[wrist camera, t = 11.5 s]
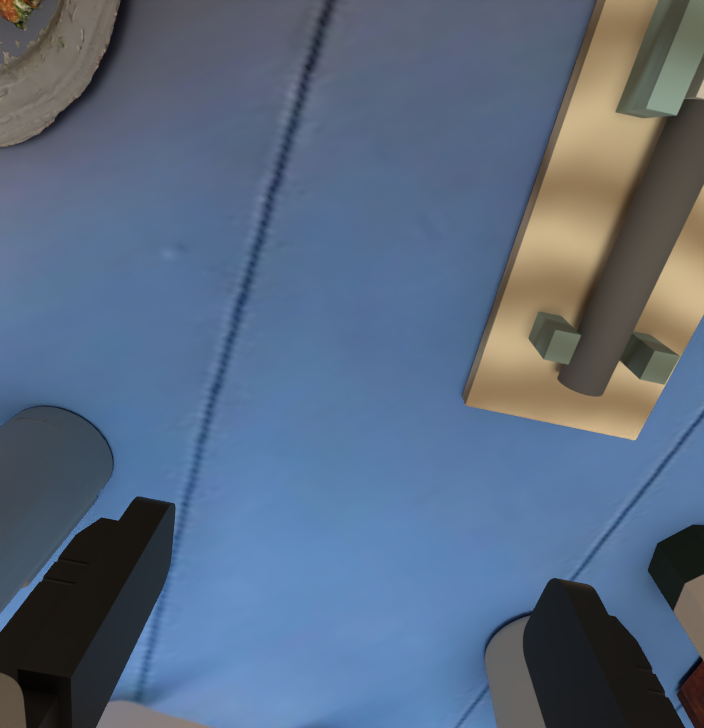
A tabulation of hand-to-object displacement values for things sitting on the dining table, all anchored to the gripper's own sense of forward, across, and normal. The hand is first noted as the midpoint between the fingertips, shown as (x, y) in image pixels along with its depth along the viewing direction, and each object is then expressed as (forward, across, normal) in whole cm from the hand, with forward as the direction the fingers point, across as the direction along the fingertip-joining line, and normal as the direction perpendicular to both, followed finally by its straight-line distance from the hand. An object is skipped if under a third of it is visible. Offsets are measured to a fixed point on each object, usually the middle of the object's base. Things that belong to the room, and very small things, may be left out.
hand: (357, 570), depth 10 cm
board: (+25, -15, -8) cm, 30 cm away
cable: (+23, -15, -8) cm, 29 cm away
